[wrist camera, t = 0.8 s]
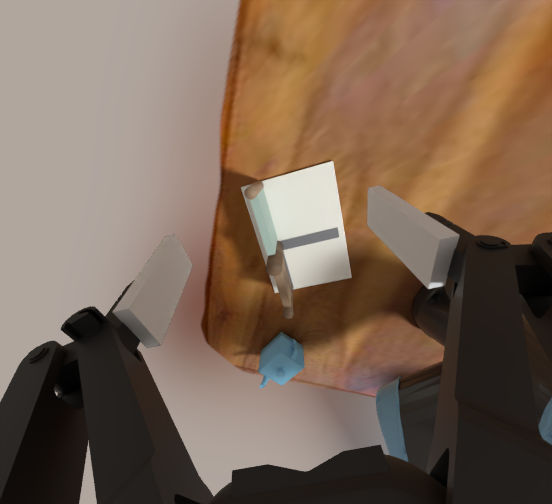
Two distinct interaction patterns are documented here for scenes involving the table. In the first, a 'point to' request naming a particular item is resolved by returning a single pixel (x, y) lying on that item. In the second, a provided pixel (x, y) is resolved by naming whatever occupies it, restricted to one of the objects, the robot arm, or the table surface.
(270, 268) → the fixed fence
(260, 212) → the swing panel
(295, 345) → the teapot
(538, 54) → the table surface
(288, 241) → the card
